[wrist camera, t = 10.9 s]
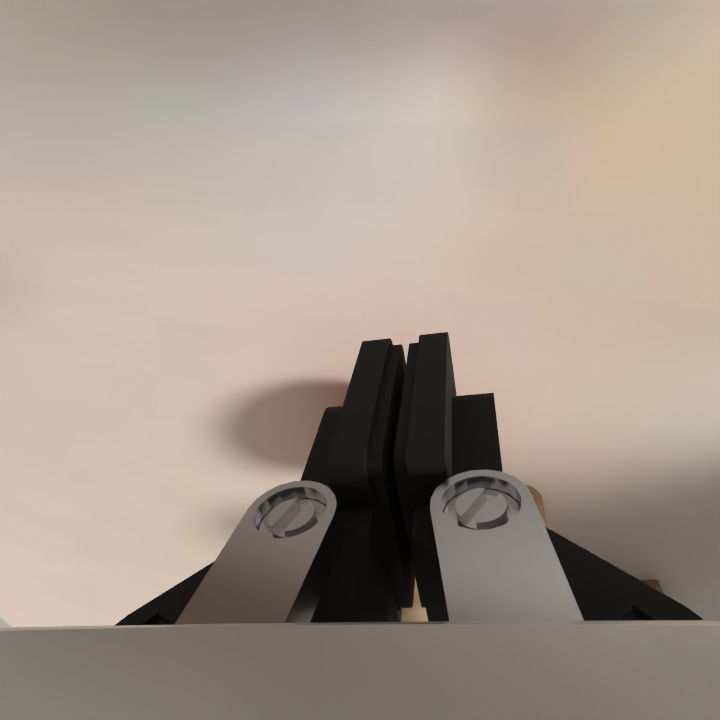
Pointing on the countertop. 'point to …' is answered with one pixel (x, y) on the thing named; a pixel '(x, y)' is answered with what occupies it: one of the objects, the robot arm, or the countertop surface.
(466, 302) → the countertop surface
